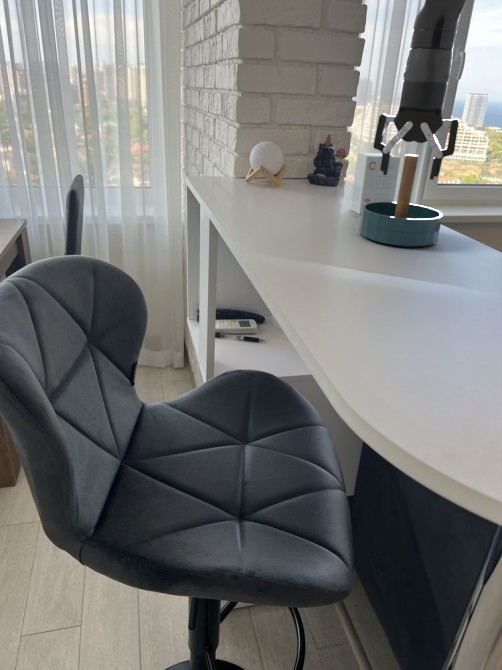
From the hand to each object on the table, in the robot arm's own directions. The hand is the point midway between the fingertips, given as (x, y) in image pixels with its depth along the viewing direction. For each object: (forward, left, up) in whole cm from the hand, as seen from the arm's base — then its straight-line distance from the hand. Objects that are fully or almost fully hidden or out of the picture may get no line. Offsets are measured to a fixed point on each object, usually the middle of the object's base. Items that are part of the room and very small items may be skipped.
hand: (408, 176), depth 95 cm
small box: (+9, -21, -12) cm, 26 cm away
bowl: (0, 0, -12) cm, 12 cm away
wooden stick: (0, 0, -11) cm, 11 cm away
